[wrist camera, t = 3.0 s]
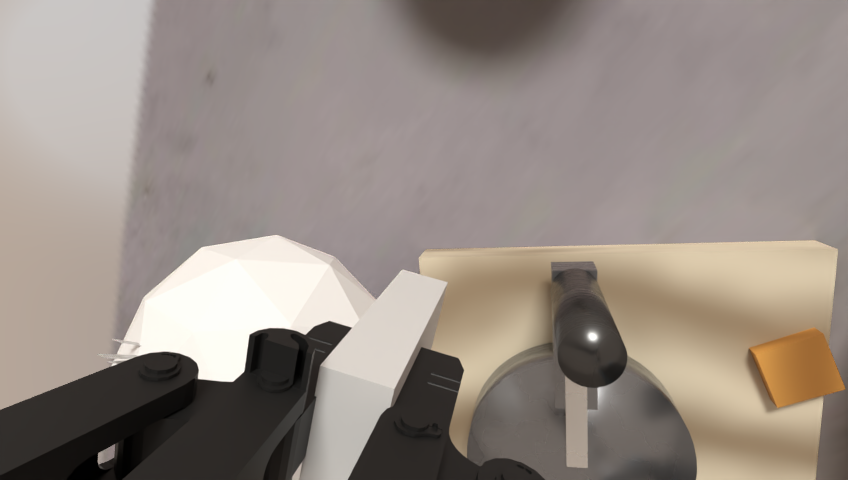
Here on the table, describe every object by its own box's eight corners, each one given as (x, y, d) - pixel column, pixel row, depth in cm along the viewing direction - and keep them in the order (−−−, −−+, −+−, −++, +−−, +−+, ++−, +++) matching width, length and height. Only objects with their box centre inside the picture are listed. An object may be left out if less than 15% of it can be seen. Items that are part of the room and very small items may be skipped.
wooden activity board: (793, 583, 29) (858, 696, 23) (447, 546, 34) (430, 633, 28) (825, 240, 25) (913, 273, 19) (426, 249, 30) (400, 279, 24)
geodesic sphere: (73, 336, 29) (-11, 591, 18) (168, 138, 25) (133, 314, 14) (297, 382, 37) (330, 579, 26) (397, 236, 33) (485, 398, 22)
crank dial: (679, 532, 27) (751, 730, 18) (477, 513, 30) (453, 681, 21) (689, 253, 24) (782, 327, 15) (462, 257, 26) (426, 324, 18)
